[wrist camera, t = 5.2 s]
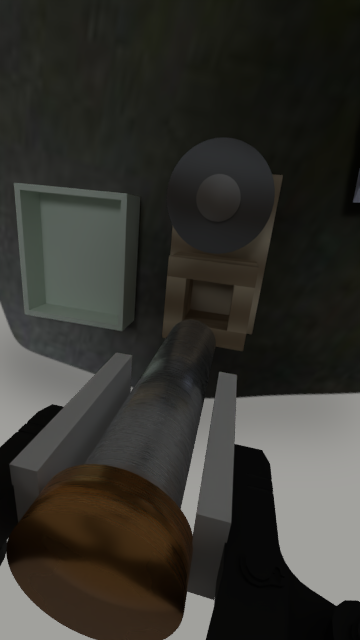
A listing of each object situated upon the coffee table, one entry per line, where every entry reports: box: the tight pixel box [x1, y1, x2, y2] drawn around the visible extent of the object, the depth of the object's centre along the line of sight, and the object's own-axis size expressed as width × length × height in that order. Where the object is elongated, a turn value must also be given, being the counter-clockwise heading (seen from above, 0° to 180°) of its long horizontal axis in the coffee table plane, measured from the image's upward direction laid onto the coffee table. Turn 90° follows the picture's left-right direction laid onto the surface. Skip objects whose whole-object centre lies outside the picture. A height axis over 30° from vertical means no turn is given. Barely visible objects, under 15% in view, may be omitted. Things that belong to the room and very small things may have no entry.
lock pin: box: [6, 319, 216, 640], centre depth 12 cm, size 4×4×13 cm
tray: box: [14, 183, 140, 331], centre depth 33 cm, size 14×12×4 cm
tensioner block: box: [162, 138, 283, 351], centre depth 27 cm, size 17×10×9 cm, turn 174°
